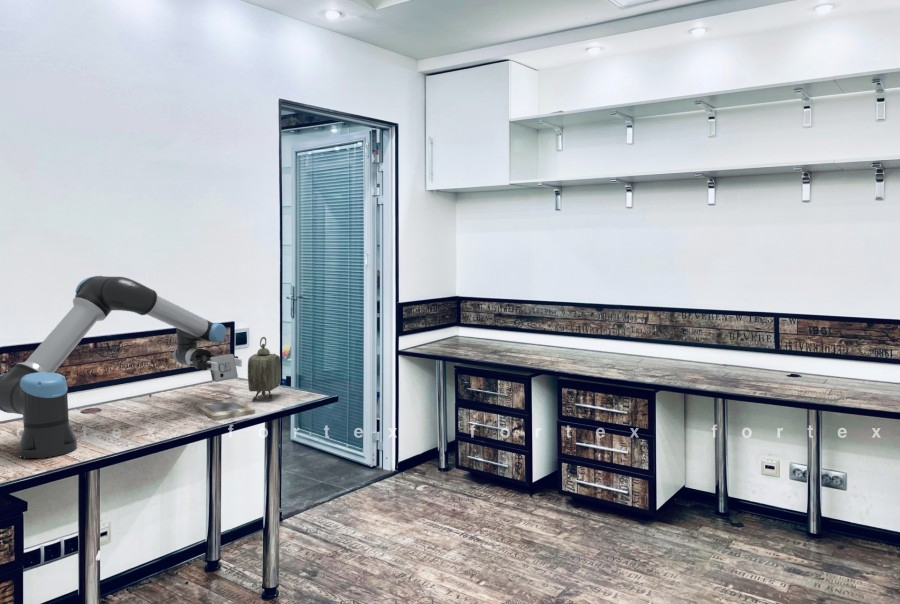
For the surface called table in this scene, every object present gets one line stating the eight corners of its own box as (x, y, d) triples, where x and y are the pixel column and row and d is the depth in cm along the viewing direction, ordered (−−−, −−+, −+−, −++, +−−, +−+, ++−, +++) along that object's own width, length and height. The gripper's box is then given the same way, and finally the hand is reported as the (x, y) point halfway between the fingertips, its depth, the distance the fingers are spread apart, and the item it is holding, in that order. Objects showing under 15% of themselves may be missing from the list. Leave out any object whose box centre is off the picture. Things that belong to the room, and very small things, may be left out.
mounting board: (213, 420, 230) (213, 415, 229) (195, 408, 247) (195, 404, 247) (255, 413, 239) (255, 409, 238) (234, 402, 256) (234, 398, 256)
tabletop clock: (260, 394, 270) (258, 334, 268) (282, 394, 270) (280, 334, 268) (248, 402, 256) (246, 339, 254) (271, 402, 255) (269, 339, 253)
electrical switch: (215, 382, 236) (213, 357, 236) (208, 382, 240) (205, 357, 239) (238, 378, 244) (236, 353, 243) (230, 378, 247) (228, 353, 247)
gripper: (225, 363, 262) (255, 370, 246) (172, 371, 246) (201, 379, 231) (224, 345, 261) (254, 351, 246) (171, 352, 245) (200, 358, 230)
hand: (228, 364), depth 238 cm, fingers closed on electrical switch, 9 cm apart
